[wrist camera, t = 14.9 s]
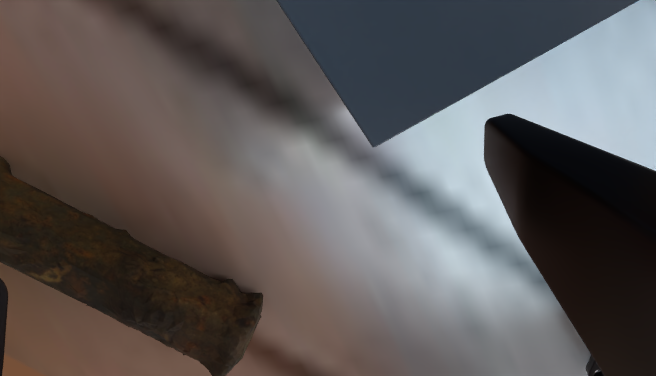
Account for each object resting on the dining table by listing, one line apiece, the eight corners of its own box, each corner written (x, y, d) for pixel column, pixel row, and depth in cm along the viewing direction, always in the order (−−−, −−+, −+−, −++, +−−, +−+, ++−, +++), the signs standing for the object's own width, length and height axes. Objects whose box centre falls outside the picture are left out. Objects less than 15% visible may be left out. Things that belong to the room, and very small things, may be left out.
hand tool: (278, 285, 25) (255, 356, 21) (240, 336, 27) (211, 410, 23) (-102, 65, 22) (-215, 96, 18) (-117, 138, 24) (-225, 181, 20)
